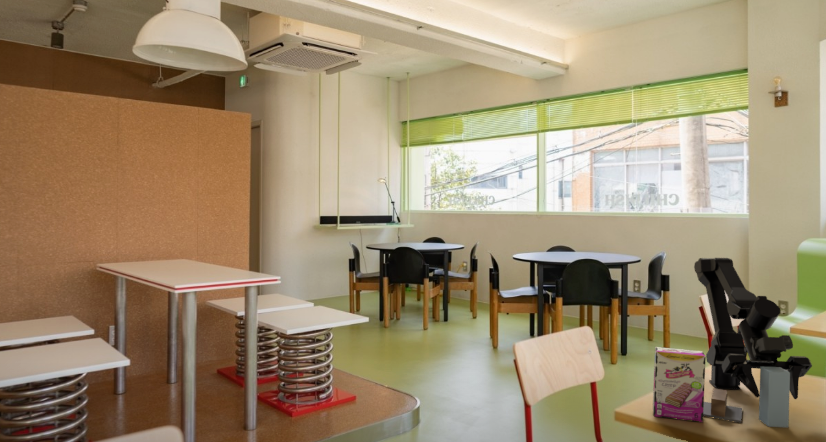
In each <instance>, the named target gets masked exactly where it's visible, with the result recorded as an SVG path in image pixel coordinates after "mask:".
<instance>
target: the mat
mask: <svg viewBox="0 0 826 442" xmlns="http://www.w3.org/2000/svg"><path fill="white" fill-rule="evenodd" d="M704 416H707V417H706V418H709V417H714V418H713V419H715V418H719V419H718V420H720V419H724V420H723V421H726V420H729V421H728V422H732V421H734V423H737V422H739V423H740V424H742V420H741V419H742V417H743V407H739V406H733V405H727V406H726V412H725V417H721V416H715V415H711V402H710V401H709V402H708V401H704V411H703V417H704ZM739 423H738V424H739Z"/></svg>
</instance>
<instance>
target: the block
mask: <svg viewBox="0 0 826 442" xmlns="http://www.w3.org/2000/svg"><path fill="white" fill-rule="evenodd" d="M759 395H760V396H759V397H758V398H759V400H758V401H759V403H758V404H759V405H758V420H759V421H760V420H761V422H762V423H763V424H764V425H765V424H766V426H767V427H770V428H772V427H774V428H789V421H790V419H789V417H790V372H788V371H786V370H784V369H783V368H781V367H764V366H760V369H759Z"/></svg>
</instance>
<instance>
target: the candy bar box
mask: <svg viewBox="0 0 826 442" xmlns="http://www.w3.org/2000/svg"><path fill="white" fill-rule="evenodd" d="M654 347H655V348H654V365H653V367H654V368H653V389H652V390H653V391H652V393H653V395H652V412H653V417H657V418H664V417H665V418H666V419H671V418H677V419H676V420H679V419H684V420H683V421H687V420H692V421H691V422H695V421H699V422H698V423H703V422H704V416H703V411H704V402H705V384H706V383H705V381H706V379H705V378H706V361H707V359H706V354H705V353H704V351H702V350H695V349H694V350H692V349H682V348H674V347H660V346H654Z"/></svg>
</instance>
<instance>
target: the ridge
mask: <svg viewBox="0 0 826 442" xmlns="http://www.w3.org/2000/svg"><path fill="white" fill-rule="evenodd" d="M727 391H728V389H721V388H713V390H712V394H711V398H710V399H711V400H710V403H711V415H715V416H721V417H725V412H726V406H728V404H727V401H728V400H727V399H728V396H727V395H728V392H727Z"/></svg>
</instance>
